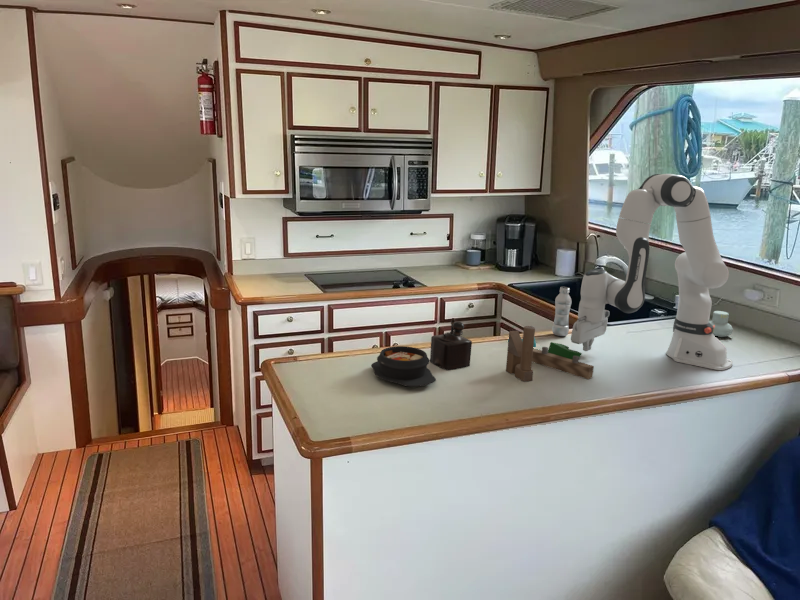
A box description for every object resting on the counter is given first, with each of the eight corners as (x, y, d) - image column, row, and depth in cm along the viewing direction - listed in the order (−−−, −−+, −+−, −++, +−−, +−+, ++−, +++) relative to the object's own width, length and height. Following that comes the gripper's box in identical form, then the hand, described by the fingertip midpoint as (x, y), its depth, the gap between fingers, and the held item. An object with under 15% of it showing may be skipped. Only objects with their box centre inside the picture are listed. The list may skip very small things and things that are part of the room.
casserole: (357, 370, 209) (358, 346, 207) (403, 361, 220) (404, 338, 218) (401, 396, 190) (402, 370, 187) (449, 385, 200) (450, 360, 198)
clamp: (571, 376, 225) (585, 357, 220) (558, 374, 222) (572, 355, 218) (556, 353, 234) (569, 335, 229) (544, 351, 231) (557, 332, 227)
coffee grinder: (427, 361, 220) (430, 312, 216) (453, 357, 226) (456, 308, 221) (453, 376, 207) (456, 324, 203) (480, 371, 213) (484, 320, 209)
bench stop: (592, 377, 212) (594, 360, 210) (588, 379, 210) (590, 362, 208) (531, 358, 228) (532, 342, 227) (526, 360, 226) (528, 344, 224)
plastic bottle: (559, 338, 252) (564, 290, 248) (548, 333, 258) (553, 286, 253) (571, 337, 255) (577, 289, 250) (560, 332, 261) (565, 285, 256)
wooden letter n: (514, 369, 216) (518, 319, 211) (532, 381, 206) (538, 328, 202) (505, 371, 214) (509, 320, 210) (523, 382, 205) (528, 329, 200)
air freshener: (700, 331, 272) (704, 309, 269) (718, 331, 272) (722, 309, 270) (715, 339, 261) (719, 316, 259) (734, 339, 262) (738, 316, 259)
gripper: (584, 321, 219) (580, 358, 222) (611, 311, 233) (607, 346, 236) (568, 317, 223) (564, 354, 226) (596, 307, 237) (592, 342, 241)
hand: (586, 350), depth 231 cm, fingers closed
